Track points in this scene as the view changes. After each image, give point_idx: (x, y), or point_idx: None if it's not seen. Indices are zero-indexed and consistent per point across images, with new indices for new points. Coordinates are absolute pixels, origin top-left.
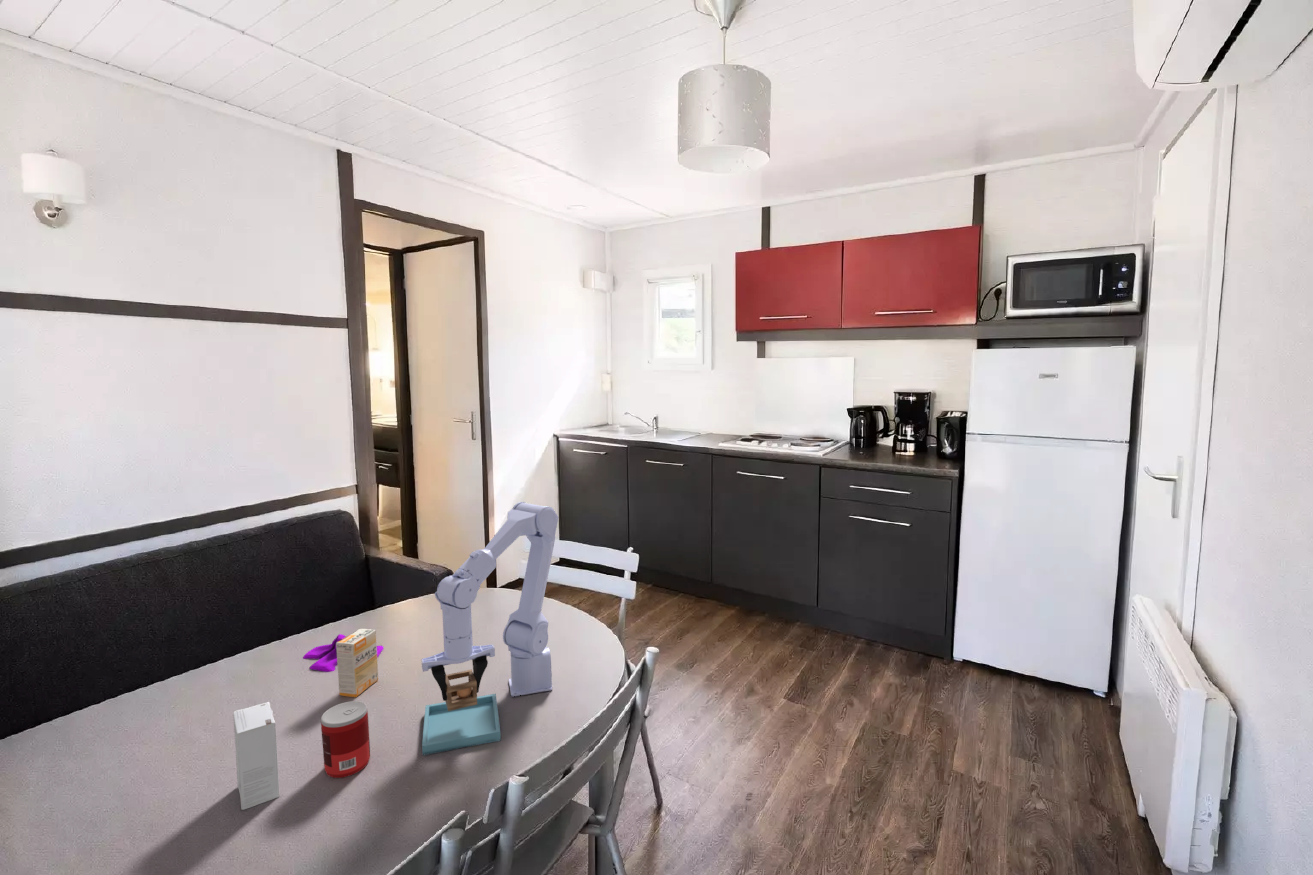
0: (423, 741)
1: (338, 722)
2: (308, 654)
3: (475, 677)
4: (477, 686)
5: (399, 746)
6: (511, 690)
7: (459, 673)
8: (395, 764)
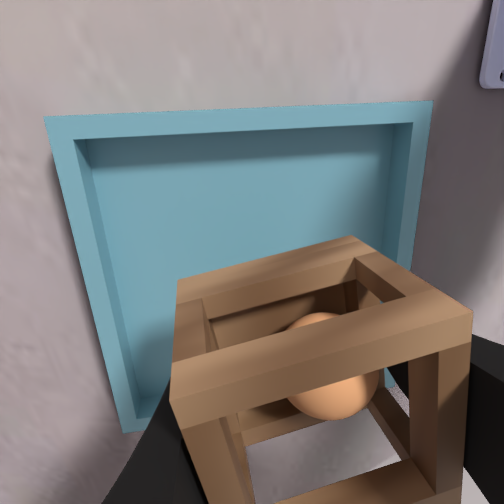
0: (121, 410)
1: None
2: None
3: (467, 447)
4: None
5: (18, 348)
6: (497, 33)
7: (345, 379)
8: (44, 433)
